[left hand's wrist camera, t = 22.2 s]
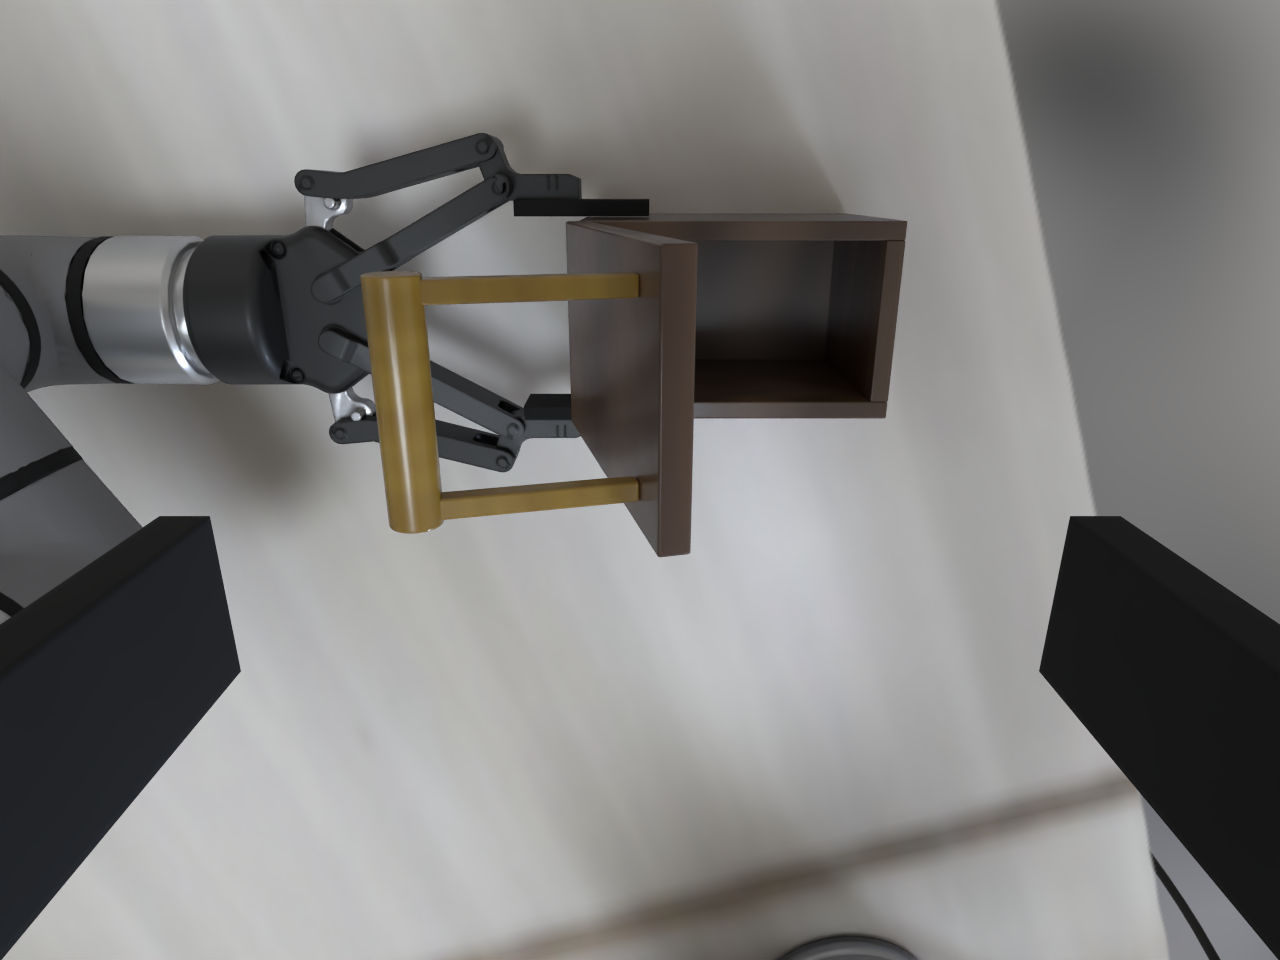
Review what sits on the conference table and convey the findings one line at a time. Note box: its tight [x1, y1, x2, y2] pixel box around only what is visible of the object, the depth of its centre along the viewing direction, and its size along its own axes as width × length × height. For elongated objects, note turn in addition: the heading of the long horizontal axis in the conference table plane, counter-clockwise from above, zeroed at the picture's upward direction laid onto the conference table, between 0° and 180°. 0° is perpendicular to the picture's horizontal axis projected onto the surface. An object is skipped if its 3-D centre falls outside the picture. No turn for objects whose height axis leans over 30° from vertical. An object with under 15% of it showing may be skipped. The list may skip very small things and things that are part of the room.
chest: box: [580, 214, 907, 418], centre depth 42 cm, size 15×9×11 cm, turn 90°
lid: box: [360, 221, 698, 557], centre depth 29 cm, size 15×9×9 cm
